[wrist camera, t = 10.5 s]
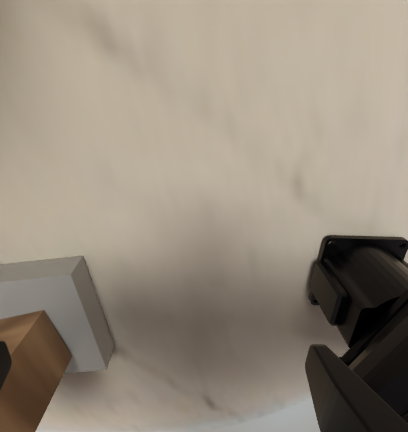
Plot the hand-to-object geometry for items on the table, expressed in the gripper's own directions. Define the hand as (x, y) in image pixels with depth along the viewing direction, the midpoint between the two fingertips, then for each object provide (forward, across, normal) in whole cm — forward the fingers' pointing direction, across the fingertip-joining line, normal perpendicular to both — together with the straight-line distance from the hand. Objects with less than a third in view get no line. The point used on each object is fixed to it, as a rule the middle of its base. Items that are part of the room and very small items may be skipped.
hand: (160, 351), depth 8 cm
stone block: (+14, +12, +11) cm, 21 cm away
